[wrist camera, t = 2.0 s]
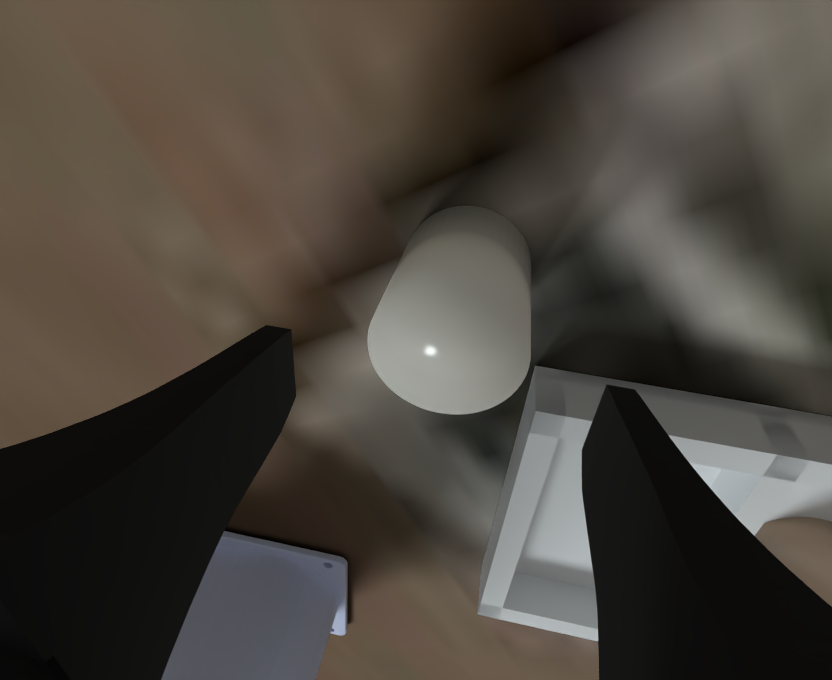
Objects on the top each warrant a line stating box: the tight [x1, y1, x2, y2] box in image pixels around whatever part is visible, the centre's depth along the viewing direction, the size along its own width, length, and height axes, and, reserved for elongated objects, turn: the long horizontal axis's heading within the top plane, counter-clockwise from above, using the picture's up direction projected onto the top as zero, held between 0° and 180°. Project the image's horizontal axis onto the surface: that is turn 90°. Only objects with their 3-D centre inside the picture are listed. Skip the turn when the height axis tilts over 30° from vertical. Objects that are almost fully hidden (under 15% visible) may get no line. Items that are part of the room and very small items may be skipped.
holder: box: [478, 366, 832, 641], centre depth 21 cm, size 16×13×2 cm
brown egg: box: [755, 517, 832, 606], centre depth 19 cm, size 4×4×5 cm
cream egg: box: [367, 206, 531, 415], centre depth 15 cm, size 4×4×5 cm
